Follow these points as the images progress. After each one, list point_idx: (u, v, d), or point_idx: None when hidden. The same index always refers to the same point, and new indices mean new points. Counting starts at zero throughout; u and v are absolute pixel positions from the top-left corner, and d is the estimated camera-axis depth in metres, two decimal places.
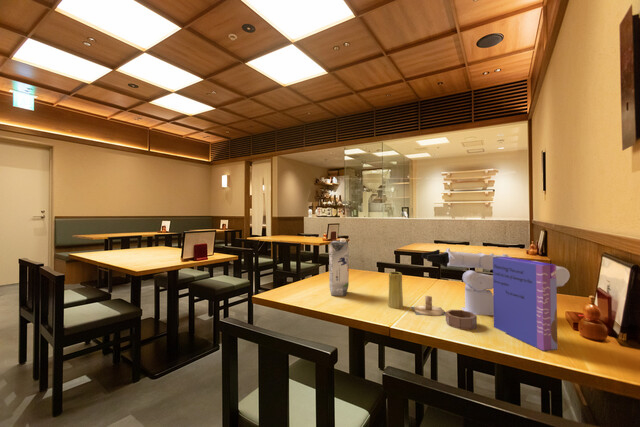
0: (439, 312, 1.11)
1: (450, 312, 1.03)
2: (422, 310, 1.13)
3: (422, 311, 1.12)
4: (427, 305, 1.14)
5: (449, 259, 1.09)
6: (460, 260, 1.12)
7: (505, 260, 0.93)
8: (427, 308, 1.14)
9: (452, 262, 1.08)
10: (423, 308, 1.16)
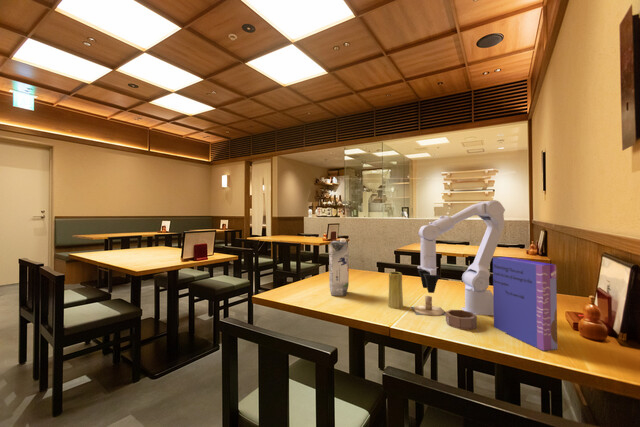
0: (439, 312, 1.11)
1: (450, 312, 1.03)
2: (422, 310, 1.13)
3: (422, 311, 1.12)
4: (427, 305, 1.14)
5: (431, 274, 1.08)
6: (430, 258, 1.12)
7: (505, 260, 0.93)
8: (427, 308, 1.14)
9: (435, 272, 1.08)
10: (423, 308, 1.16)
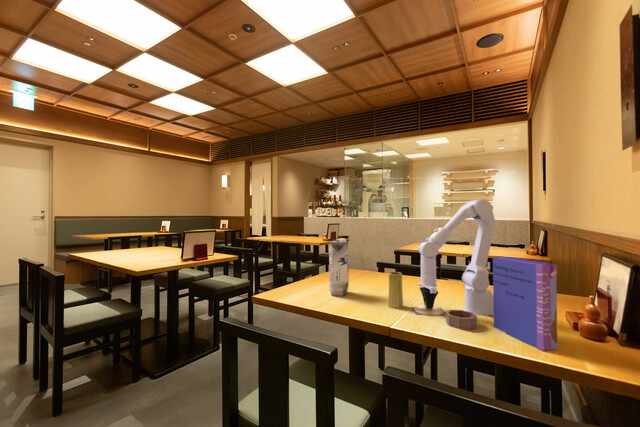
0: (439, 312, 1.11)
1: (450, 312, 1.03)
2: (422, 310, 1.13)
3: (422, 311, 1.12)
4: None
5: (432, 292, 1.08)
6: (430, 276, 1.12)
7: (505, 260, 0.93)
8: (427, 308, 1.14)
9: (435, 290, 1.08)
10: (423, 308, 1.16)
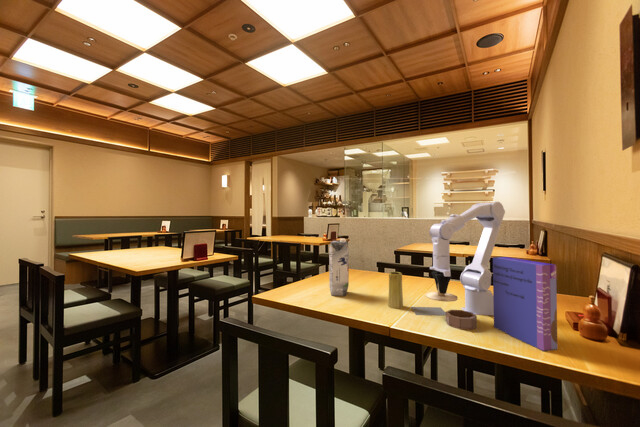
0: (452, 298, 1.05)
1: (450, 312, 1.03)
2: (434, 296, 1.07)
3: (434, 297, 1.06)
4: None
5: (445, 276, 1.02)
6: (443, 259, 1.06)
7: (505, 260, 0.93)
8: (439, 294, 1.08)
9: (449, 273, 1.01)
10: (435, 294, 1.10)
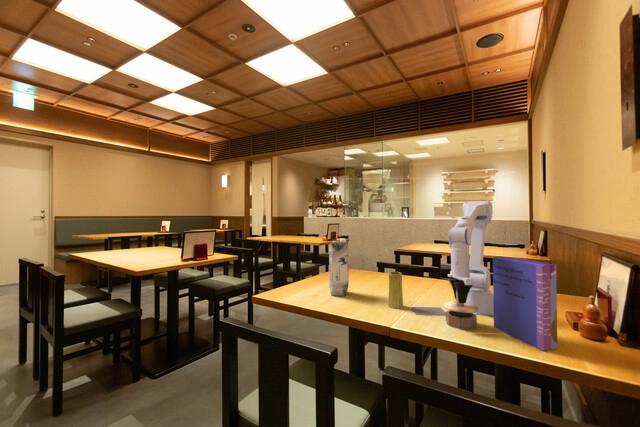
0: (473, 309, 0.96)
1: (450, 312, 1.03)
2: (452, 306, 0.99)
3: (452, 307, 0.98)
4: (458, 301, 1.00)
5: (466, 284, 0.94)
6: (463, 265, 0.98)
7: (505, 260, 0.93)
8: (458, 304, 1.00)
9: (470, 282, 0.93)
10: (453, 304, 1.02)
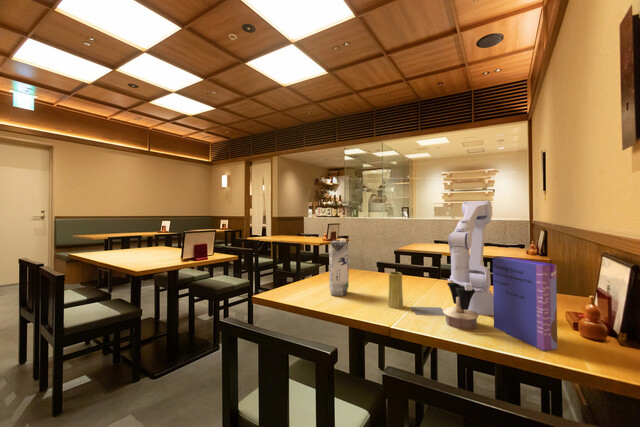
0: (473, 315, 0.96)
1: None
2: (452, 313, 0.99)
3: (452, 314, 0.98)
4: (458, 307, 1.00)
5: (466, 289, 0.94)
6: (463, 270, 0.98)
7: (505, 260, 0.93)
8: (458, 311, 1.00)
9: (470, 287, 0.93)
10: (453, 310, 1.02)
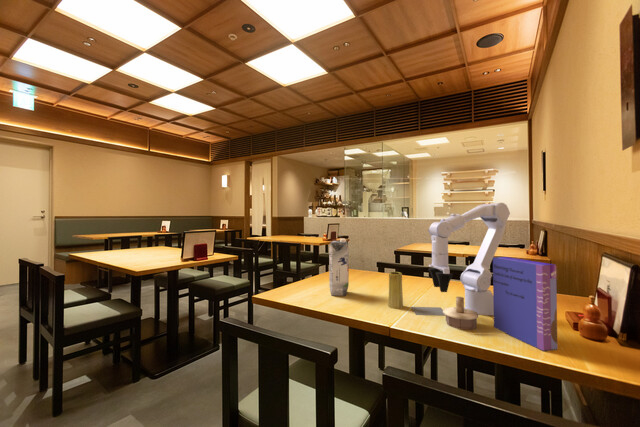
0: (473, 315, 0.96)
1: None
2: (452, 313, 0.99)
3: (452, 314, 0.98)
4: (458, 307, 1.00)
5: None
6: (442, 256, 1.08)
7: (505, 260, 0.93)
8: (458, 311, 1.00)
9: (448, 271, 1.04)
10: (453, 310, 1.02)
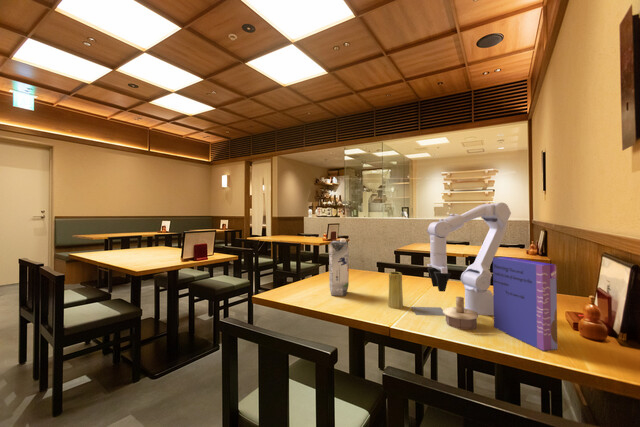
0: (473, 315, 0.96)
1: None
2: (452, 313, 0.99)
3: (452, 314, 0.98)
4: (458, 307, 1.00)
5: (442, 272, 1.05)
6: (440, 256, 1.09)
7: (505, 260, 0.93)
8: (458, 311, 1.00)
9: (446, 270, 1.05)
10: (453, 310, 1.02)
